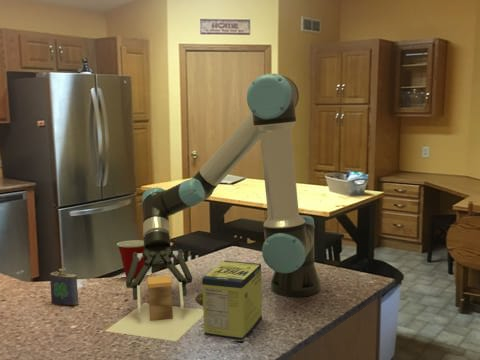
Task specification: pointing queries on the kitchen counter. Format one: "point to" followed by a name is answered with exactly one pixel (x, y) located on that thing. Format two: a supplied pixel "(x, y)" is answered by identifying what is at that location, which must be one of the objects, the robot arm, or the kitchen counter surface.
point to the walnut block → (160, 298)
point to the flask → (64, 288)
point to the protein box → (232, 300)
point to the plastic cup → (131, 255)
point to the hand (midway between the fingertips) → (160, 308)
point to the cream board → (157, 323)
